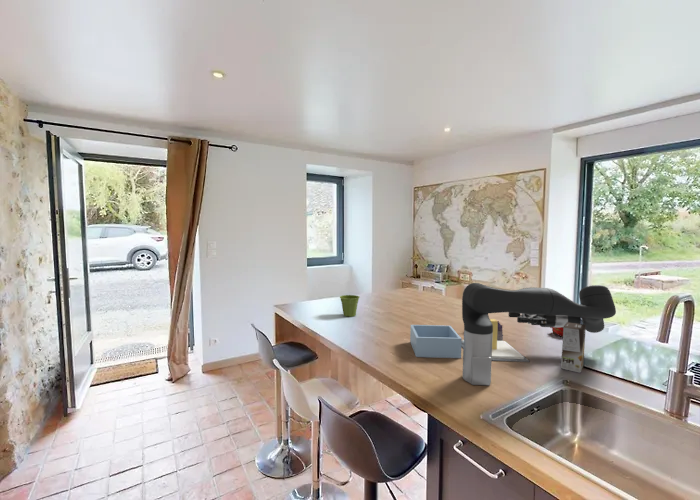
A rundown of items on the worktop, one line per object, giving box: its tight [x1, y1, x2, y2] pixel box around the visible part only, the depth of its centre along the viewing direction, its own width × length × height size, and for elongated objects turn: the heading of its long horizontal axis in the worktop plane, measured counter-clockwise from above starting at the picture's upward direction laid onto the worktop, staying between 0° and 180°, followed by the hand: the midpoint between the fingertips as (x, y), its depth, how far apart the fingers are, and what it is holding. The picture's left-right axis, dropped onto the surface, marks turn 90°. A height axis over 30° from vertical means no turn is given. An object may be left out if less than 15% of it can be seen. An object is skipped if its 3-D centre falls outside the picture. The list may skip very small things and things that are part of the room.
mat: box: [461, 342, 530, 363], centre depth 144 cm, size 22×22×1 cm
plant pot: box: [339, 294, 361, 318], centre depth 199 cm, size 12×12×11 cm
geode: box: [497, 320, 504, 341], centre depth 165 cm, size 20×12×10 cm, turn 21°
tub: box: [409, 324, 463, 359], centre depth 145 cm, size 18×18×8 cm
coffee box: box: [560, 322, 587, 373], centre depth 127 cm, size 9×6×16 cm
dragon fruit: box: [549, 327, 563, 338], centre depth 166 cm, size 8×8×12 cm
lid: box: [462, 318, 525, 359], centre depth 144 cm, size 19×19×13 cm
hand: (513, 317), depth 144 cm, fingers open, 8 cm apart
